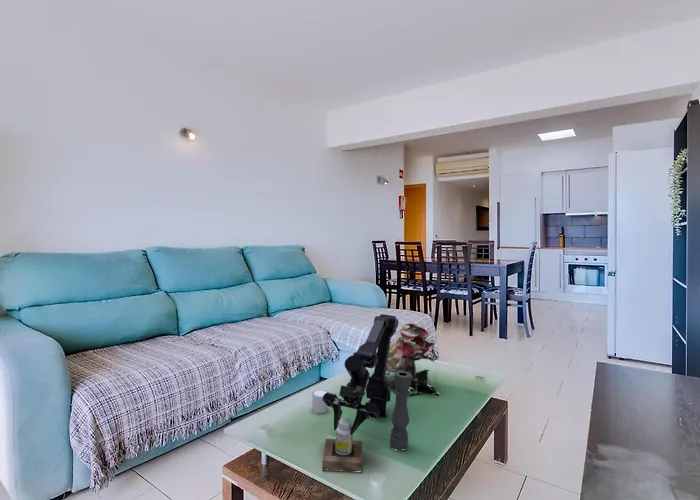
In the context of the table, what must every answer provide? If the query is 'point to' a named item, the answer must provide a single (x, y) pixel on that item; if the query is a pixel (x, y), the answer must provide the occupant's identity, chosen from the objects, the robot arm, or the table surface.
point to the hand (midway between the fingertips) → (342, 432)
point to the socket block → (342, 462)
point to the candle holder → (400, 411)
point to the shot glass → (319, 401)
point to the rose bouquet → (409, 356)
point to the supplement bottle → (344, 437)
